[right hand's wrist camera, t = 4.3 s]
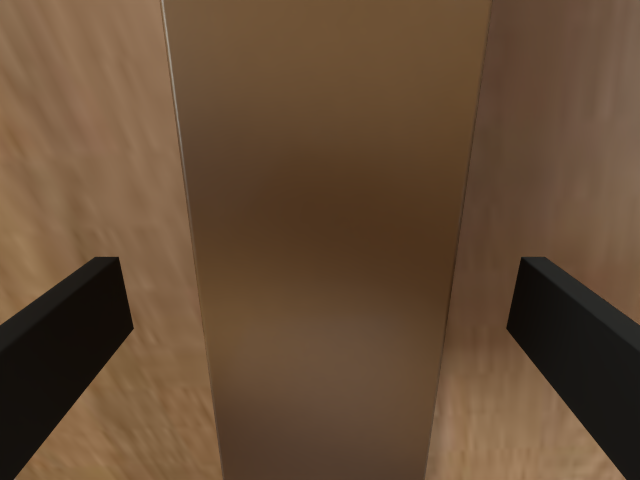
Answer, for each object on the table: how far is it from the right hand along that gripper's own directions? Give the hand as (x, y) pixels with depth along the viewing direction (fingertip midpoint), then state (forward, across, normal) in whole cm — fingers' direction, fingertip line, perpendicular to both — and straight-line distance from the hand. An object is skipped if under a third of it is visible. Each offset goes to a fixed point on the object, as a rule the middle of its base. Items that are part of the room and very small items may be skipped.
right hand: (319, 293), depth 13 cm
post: (+3, 0, -26) cm, 26 cm away
